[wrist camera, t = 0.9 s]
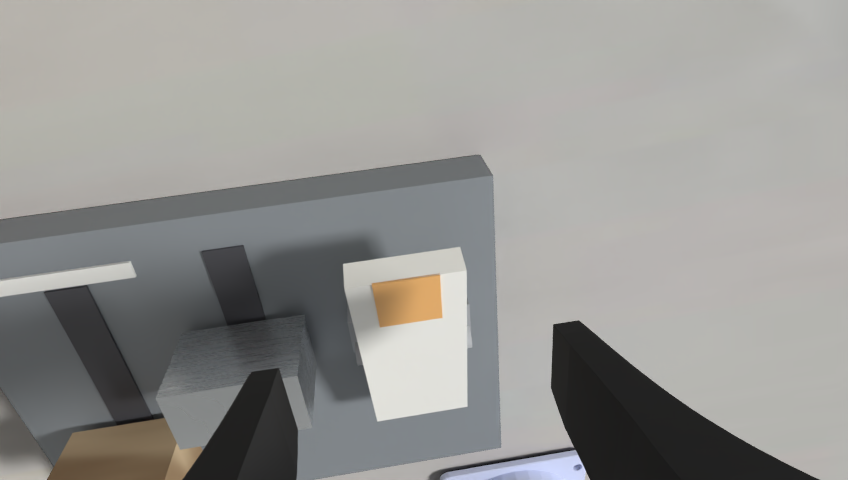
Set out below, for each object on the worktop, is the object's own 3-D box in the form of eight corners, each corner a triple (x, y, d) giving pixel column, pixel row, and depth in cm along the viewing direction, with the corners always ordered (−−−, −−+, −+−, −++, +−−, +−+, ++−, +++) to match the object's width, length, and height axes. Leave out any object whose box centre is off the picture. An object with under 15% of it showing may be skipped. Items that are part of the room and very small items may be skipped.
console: (491, 414, 27) (508, 471, 24) (105, 479, 26) (76, 546, 23) (480, 154, 20) (502, 191, 17) (-50, 226, 19) (-120, 278, 16)
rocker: (467, 383, 22) (472, 406, 21) (370, 399, 22) (372, 423, 21) (466, 245, 16) (473, 270, 16) (336, 264, 16) (337, 291, 15)
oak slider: (204, 454, 23) (184, 526, 20) (96, 471, 22) (62, 547, 20) (186, 414, 21) (162, 485, 19) (72, 432, 21) (31, 507, 18)
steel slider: (316, 362, 21) (312, 427, 18) (202, 380, 21) (180, 449, 18) (304, 314, 20) (297, 376, 17) (182, 332, 19) (155, 398, 17)
